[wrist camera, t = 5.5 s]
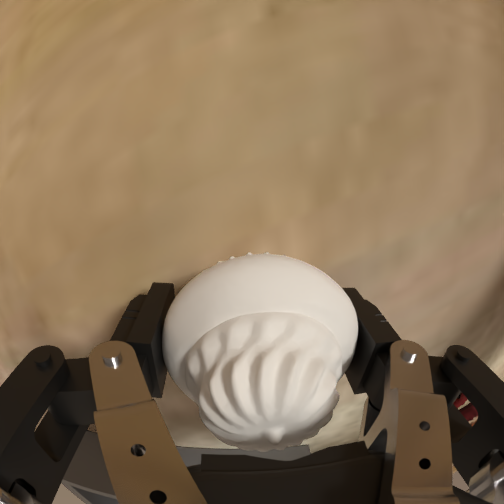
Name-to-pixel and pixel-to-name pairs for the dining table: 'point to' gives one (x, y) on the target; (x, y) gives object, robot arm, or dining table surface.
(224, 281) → the white ribbed rounded piece
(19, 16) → the dining table surface
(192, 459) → the serving bin
